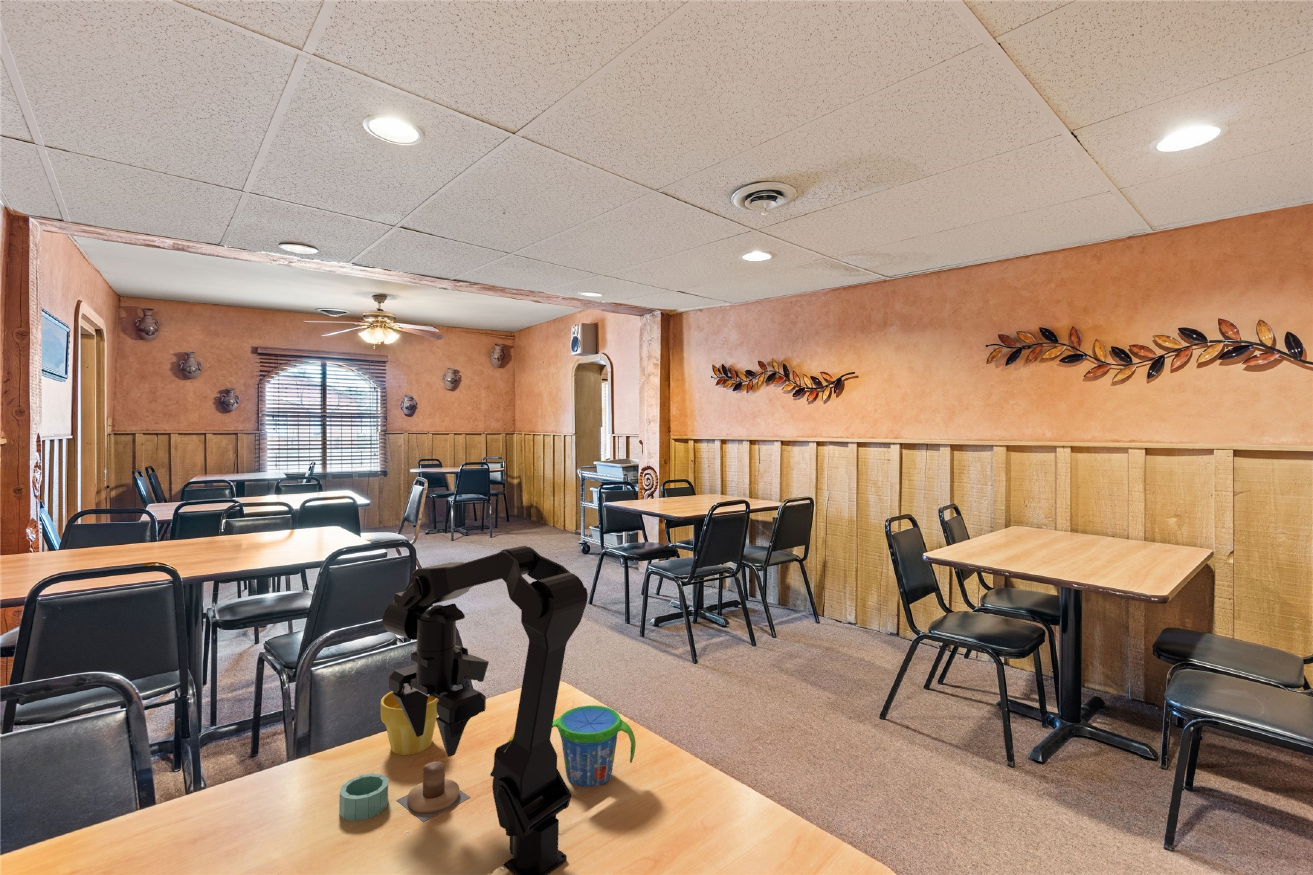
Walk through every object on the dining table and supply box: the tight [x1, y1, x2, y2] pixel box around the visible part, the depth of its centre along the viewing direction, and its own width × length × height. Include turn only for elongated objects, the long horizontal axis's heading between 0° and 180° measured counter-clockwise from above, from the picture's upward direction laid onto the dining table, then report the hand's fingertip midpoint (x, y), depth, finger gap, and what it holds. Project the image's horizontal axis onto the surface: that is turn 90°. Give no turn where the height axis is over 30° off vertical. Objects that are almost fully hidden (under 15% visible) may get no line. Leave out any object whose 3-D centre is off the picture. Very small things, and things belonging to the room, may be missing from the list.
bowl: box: [338, 772, 390, 822], centre depth 93 cm, size 7×7×4 cm
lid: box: [407, 760, 460, 814], centre depth 95 cm, size 8×8×5 cm
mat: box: [395, 789, 471, 823], centre depth 95 cm, size 8×8×1 cm
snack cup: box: [552, 705, 636, 788], centre depth 103 cm, size 16×10×10 cm
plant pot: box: [380, 690, 439, 756], centre depth 111 cm, size 10×10×10 cm
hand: (435, 745), depth 95 cm, fingers open, 9 cm apart
